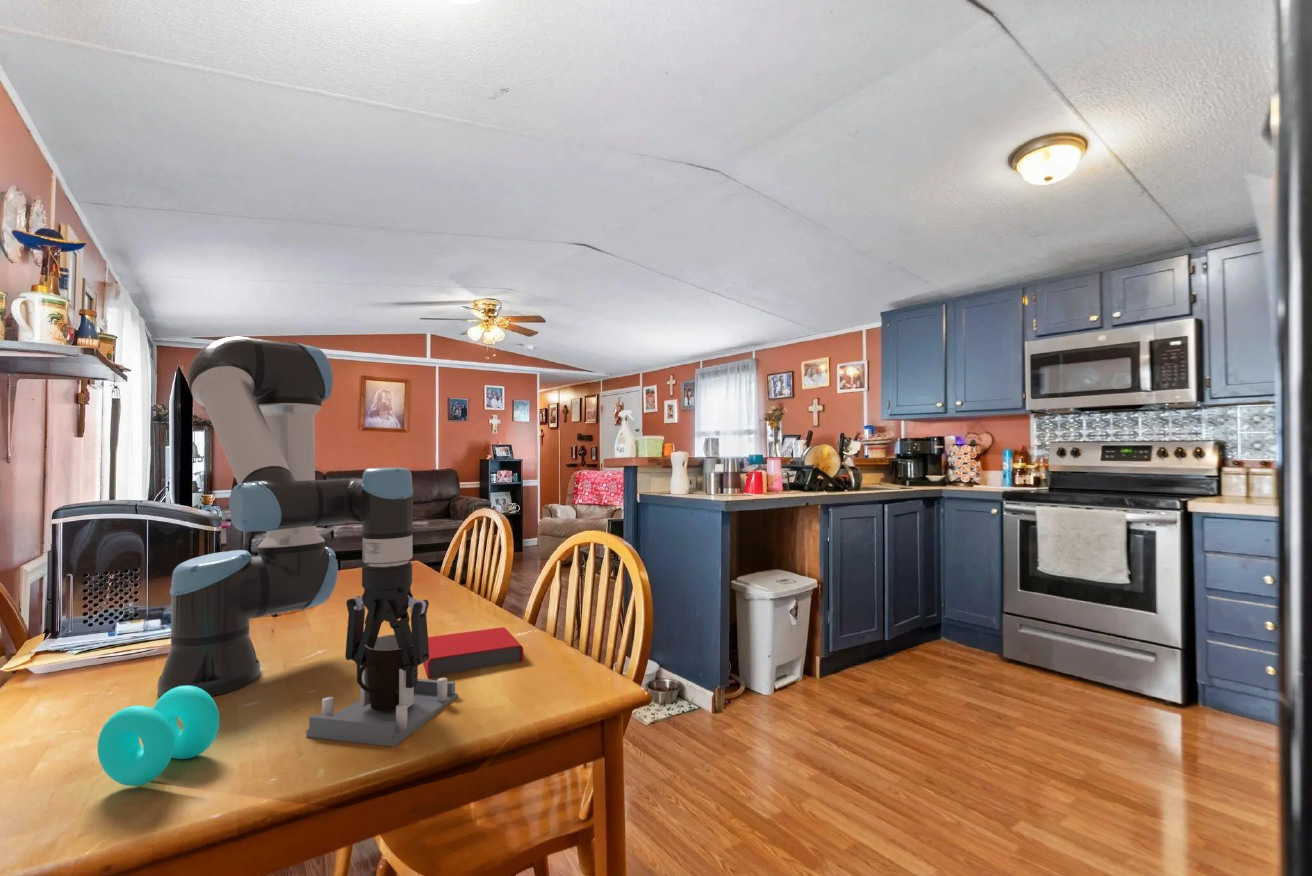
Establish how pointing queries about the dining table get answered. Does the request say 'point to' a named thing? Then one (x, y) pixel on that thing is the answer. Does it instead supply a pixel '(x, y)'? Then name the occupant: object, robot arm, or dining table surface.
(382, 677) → the coffee mug
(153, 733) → the donuts
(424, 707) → the pin tray
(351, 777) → the dining table surface
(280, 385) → the robot arm
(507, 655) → the red device housing
